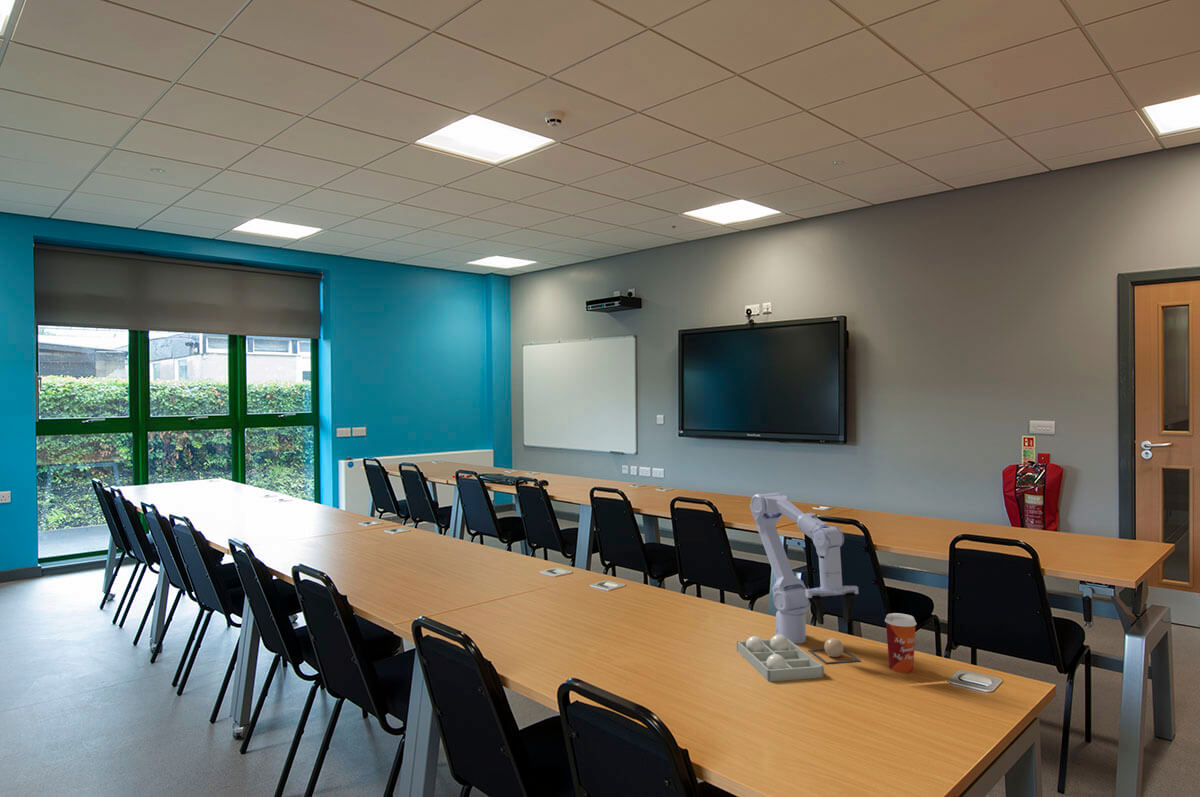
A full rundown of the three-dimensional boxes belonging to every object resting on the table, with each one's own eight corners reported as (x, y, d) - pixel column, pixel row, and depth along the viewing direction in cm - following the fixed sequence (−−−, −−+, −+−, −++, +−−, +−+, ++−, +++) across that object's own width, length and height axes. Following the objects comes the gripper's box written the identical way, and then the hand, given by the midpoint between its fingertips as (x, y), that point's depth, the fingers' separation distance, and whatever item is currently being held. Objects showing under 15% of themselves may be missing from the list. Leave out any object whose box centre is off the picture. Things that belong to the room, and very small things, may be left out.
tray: (736, 653, 195) (736, 641, 195) (786, 650, 198) (786, 637, 198) (768, 684, 173) (768, 670, 173) (823, 680, 176) (823, 666, 176)
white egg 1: (743, 652, 194) (743, 634, 194) (760, 650, 195) (760, 632, 195) (749, 658, 189) (749, 640, 189) (767, 657, 190) (767, 638, 190)
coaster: (808, 653, 194) (808, 649, 194) (841, 651, 196) (841, 647, 196) (825, 667, 184) (825, 662, 184) (860, 664, 186) (860, 660, 186)
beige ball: (821, 654, 192) (820, 636, 192) (838, 652, 193) (837, 634, 193) (829, 660, 187) (829, 642, 187) (847, 659, 188) (846, 640, 188)
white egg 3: (763, 671, 180) (762, 651, 180) (781, 669, 181) (781, 650, 181) (771, 678, 175) (770, 658, 175) (789, 677, 176) (789, 657, 176)
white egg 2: (767, 650, 195) (767, 632, 195) (784, 649, 196) (784, 631, 196) (774, 656, 190) (774, 638, 190) (792, 655, 191) (791, 637, 191)
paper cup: (898, 678, 177) (897, 622, 177) (878, 667, 184) (878, 613, 184) (924, 674, 179) (923, 619, 179) (904, 663, 186) (903, 611, 186)
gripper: (812, 576, 186) (815, 628, 185) (862, 572, 188) (866, 623, 187) (800, 571, 193) (803, 621, 192) (849, 568, 195) (852, 617, 194)
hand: (833, 622), depth 190 cm, fingers open, 7 cm apart
